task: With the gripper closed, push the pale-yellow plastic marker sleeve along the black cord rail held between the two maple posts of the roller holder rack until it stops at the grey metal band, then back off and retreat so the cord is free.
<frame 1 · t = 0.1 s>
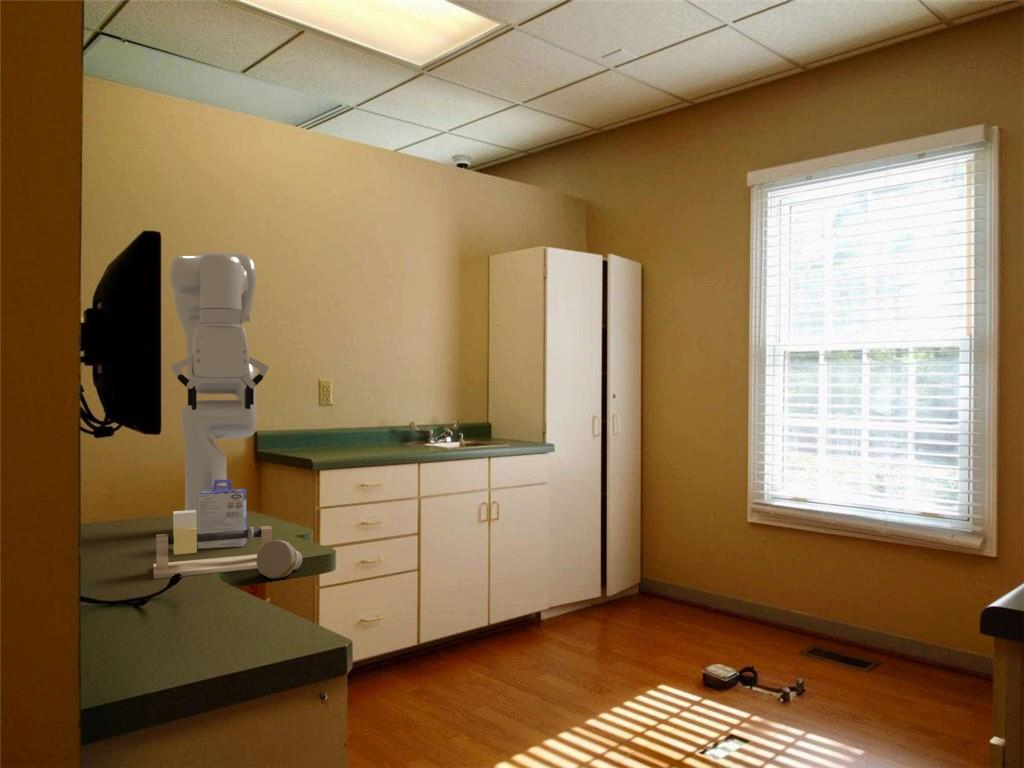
hand: (221, 409, 147), 31 cm above the worktop, fingers open, 9 cm apart
ink cartridge box: (222, 546, 170), on the worktop
roller holder rack: (215, 567, 150), on the worktop
mug: (281, 575, 145), on the worktop
marker sleeve: (184, 531, 148), point 7 cm above the worktop, slide at -5.5 cm
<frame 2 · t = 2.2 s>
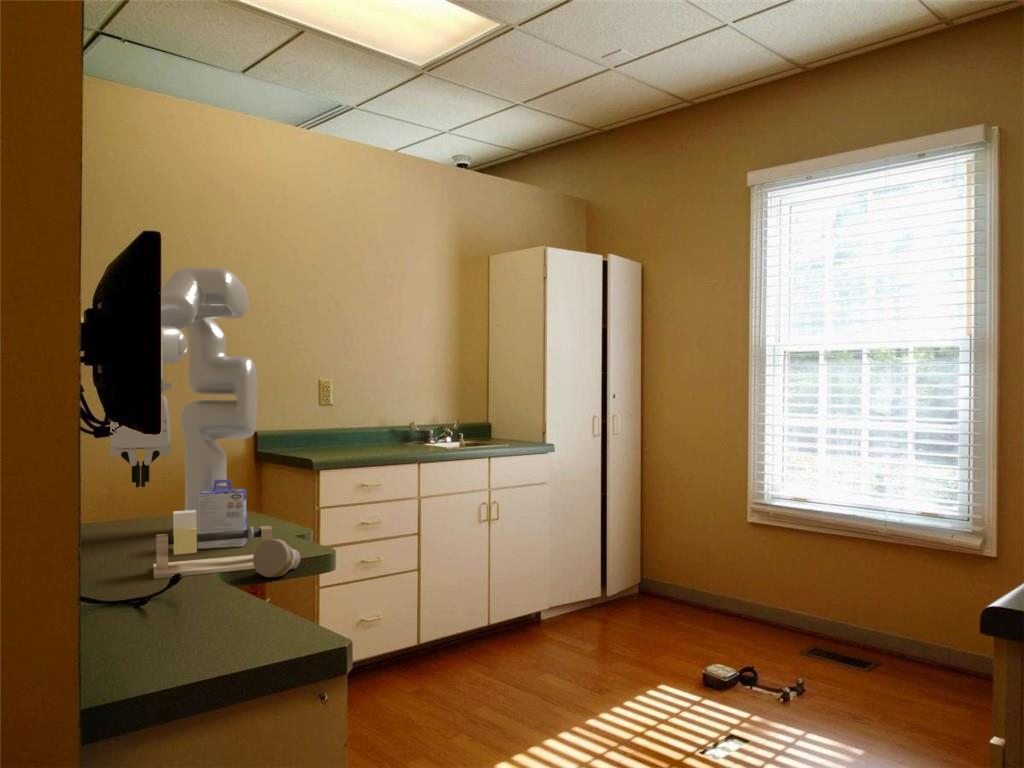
hand: (140, 486, 144), 17 cm above the worktop, fingers closed
mug: (279, 574, 146), on the worktop
everything else where it was.
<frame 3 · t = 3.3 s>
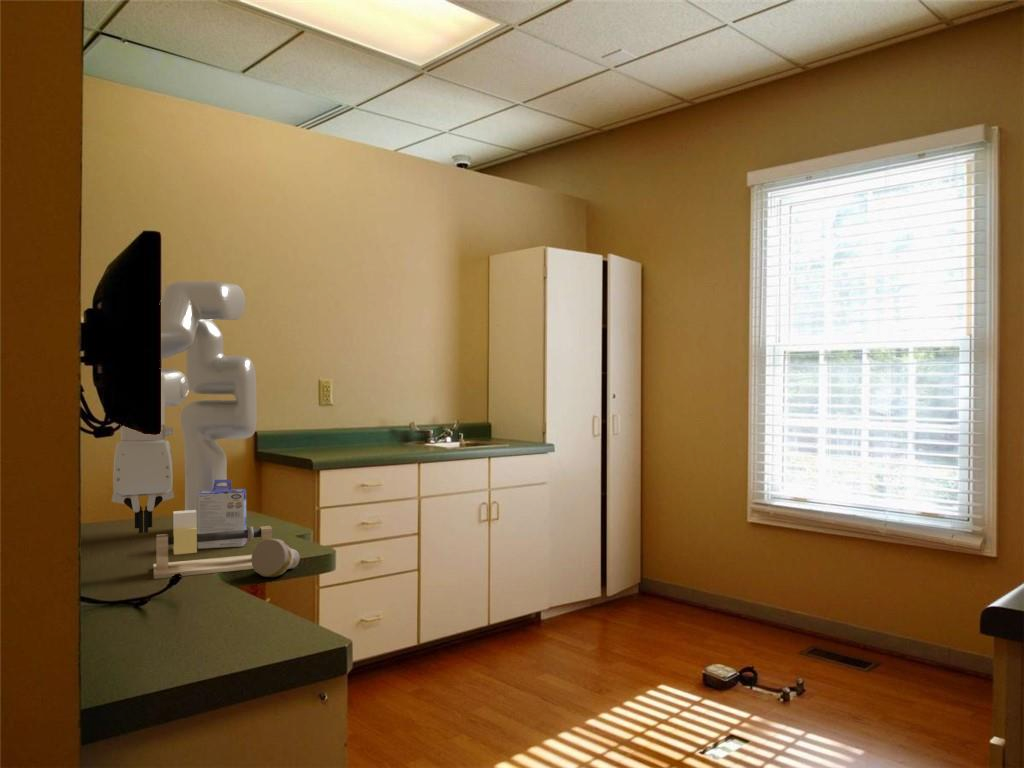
hand: (143, 531, 145), 8 cm above the worktop, fingers closed
nothing on the worktop moved.
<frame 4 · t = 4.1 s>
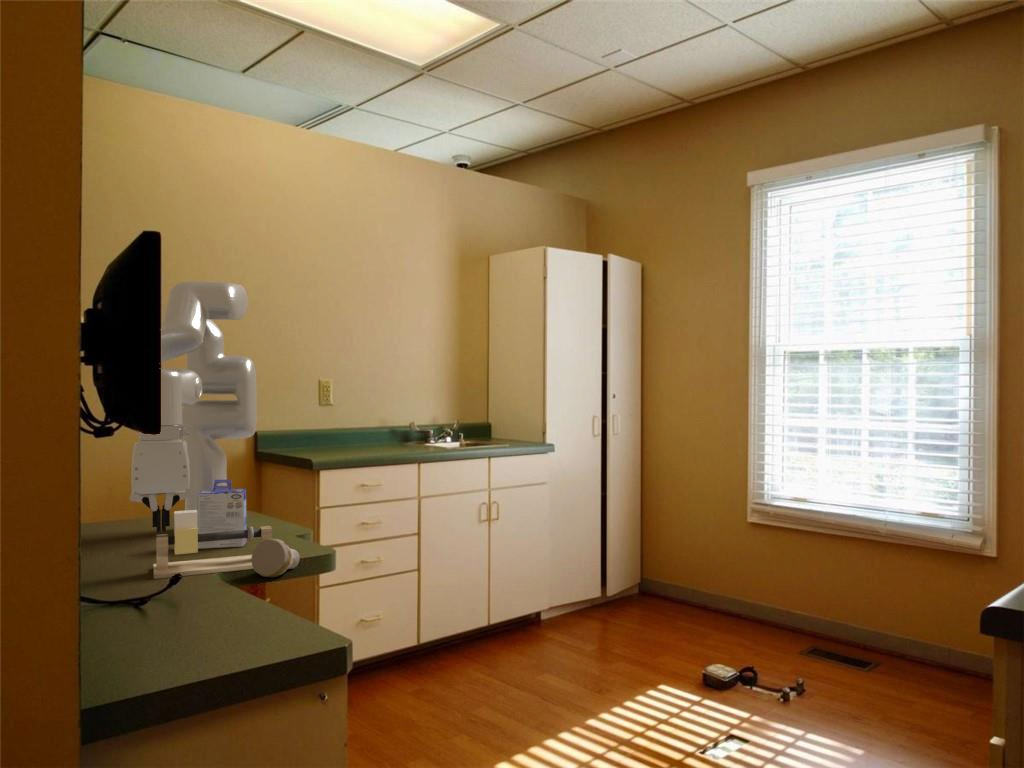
hand: (161, 530, 146), 8 cm above the worktop, fingers closed
marker sleeve: (185, 531, 148), point 7 cm above the worktop, slide at -5.3 cm, touching gripper
everything else where it was.
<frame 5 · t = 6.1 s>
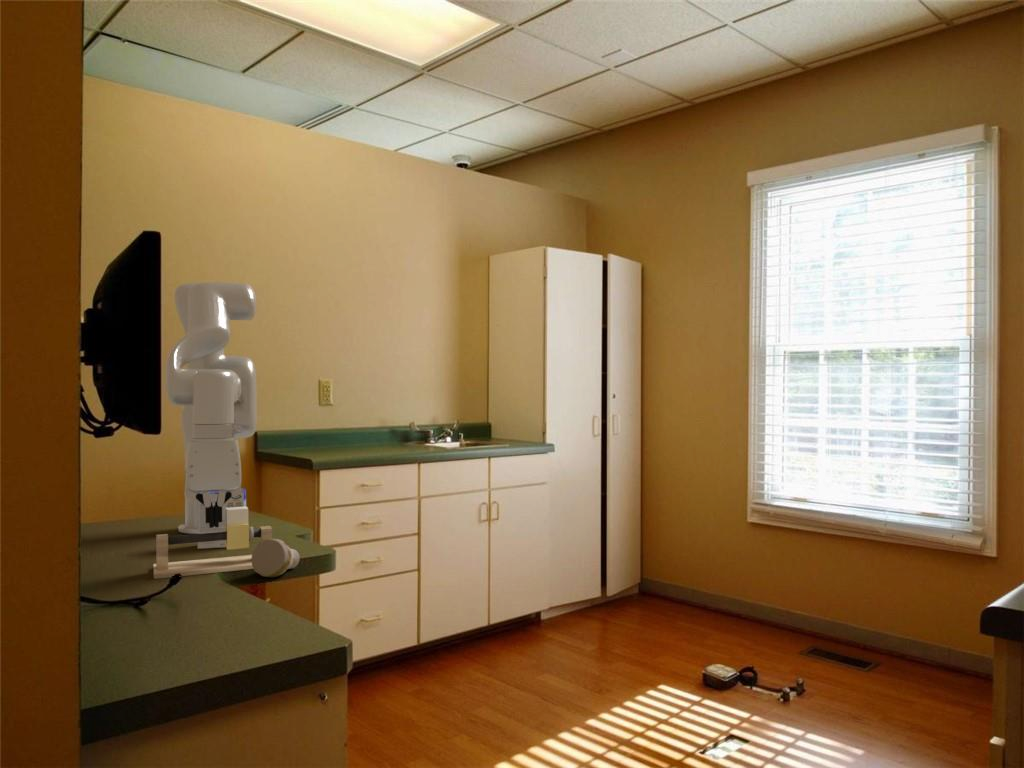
hand: (213, 526, 150), 8 cm above the worktop, fingers closed
marker sleeve: (236, 527, 152), point 7 cm above the worktop, slide at 4.0 cm, touching roller holder rack, gripper
everything else where it was.
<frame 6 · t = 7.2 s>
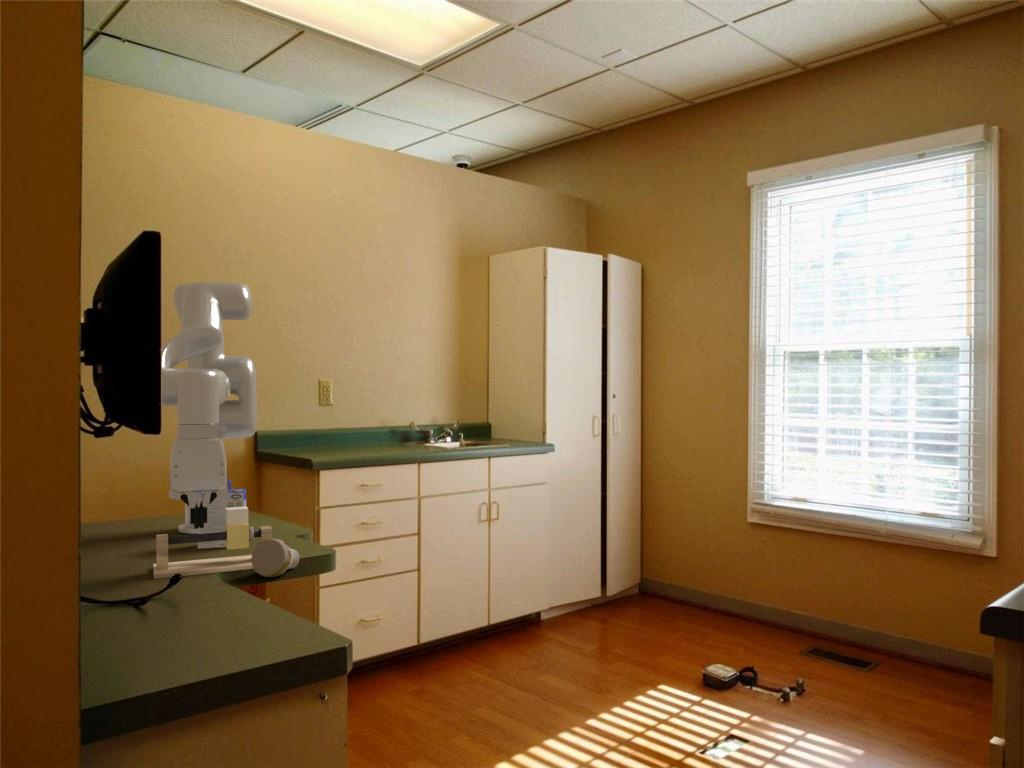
hand: (198, 527, 149), 8 cm above the worktop, fingers closed
marker sleeve: (236, 527, 152), point 7 cm above the worktop, slide at 4.0 cm, touching roller holder rack
everything else where it was.
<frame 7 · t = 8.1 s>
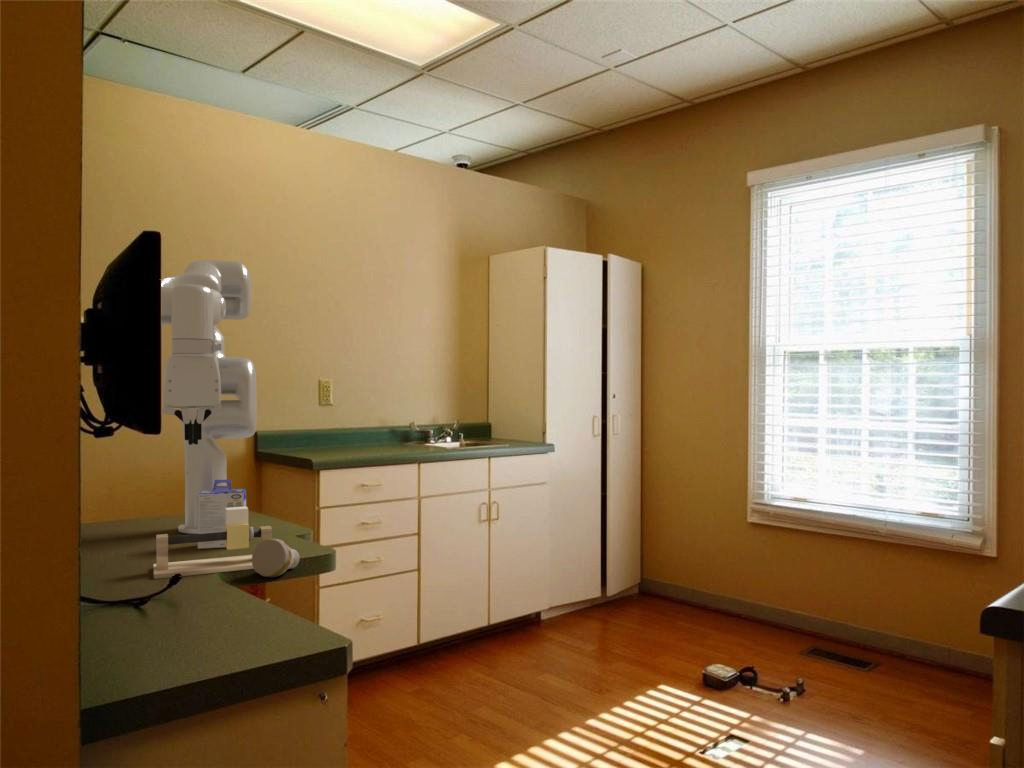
hand: (193, 443, 149), 24 cm above the worktop, fingers closed
nothing on the worktop moved.
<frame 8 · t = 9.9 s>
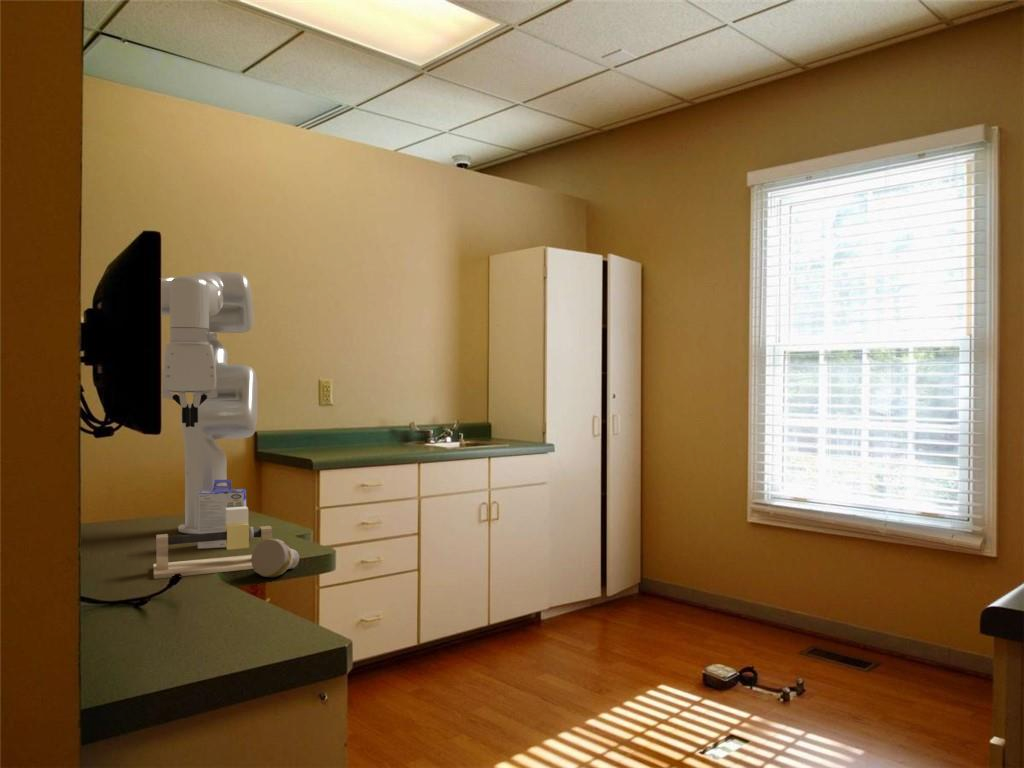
hand: (190, 426, 158), 27 cm above the worktop, fingers closed
nothing on the worktop moved.
at the end: marker sleeve slide at 4.0 cm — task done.
